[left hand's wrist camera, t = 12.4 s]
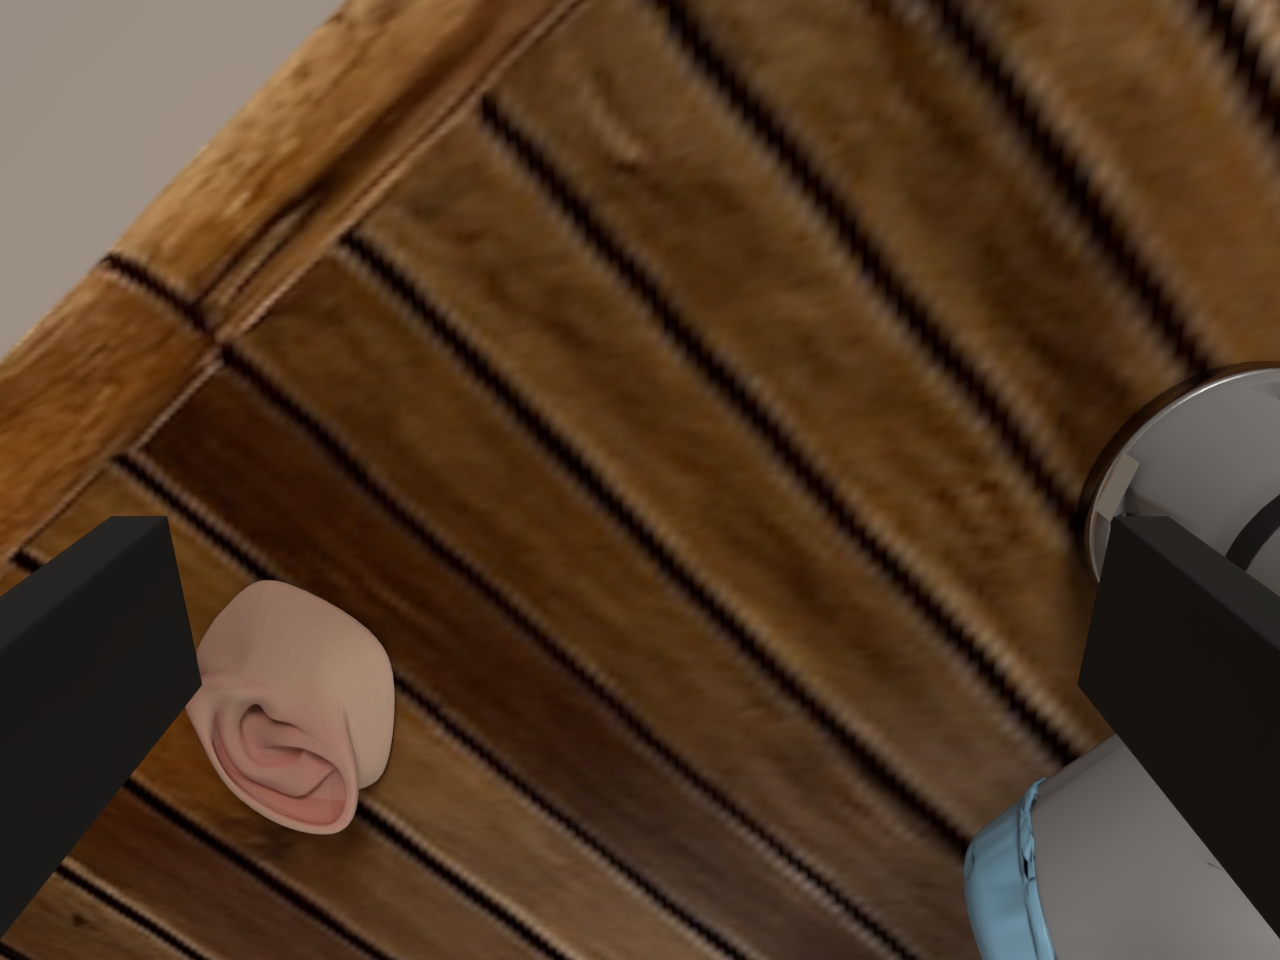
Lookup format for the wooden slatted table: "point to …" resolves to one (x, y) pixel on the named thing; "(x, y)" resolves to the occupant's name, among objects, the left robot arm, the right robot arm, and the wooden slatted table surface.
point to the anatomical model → (294, 706)
